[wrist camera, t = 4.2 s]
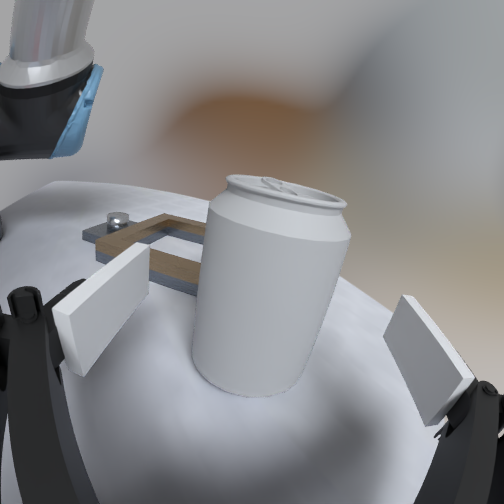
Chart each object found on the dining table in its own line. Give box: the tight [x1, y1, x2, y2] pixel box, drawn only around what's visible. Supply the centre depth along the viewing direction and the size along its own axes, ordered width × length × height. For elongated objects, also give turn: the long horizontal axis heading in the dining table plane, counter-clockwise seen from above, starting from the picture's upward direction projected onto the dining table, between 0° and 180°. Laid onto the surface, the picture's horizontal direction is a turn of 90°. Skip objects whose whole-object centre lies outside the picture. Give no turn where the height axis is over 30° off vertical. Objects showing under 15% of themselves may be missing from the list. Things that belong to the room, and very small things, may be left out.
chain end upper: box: [95, 213, 206, 285], centre depth 31 cm, size 21×15×4 cm
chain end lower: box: [82, 212, 204, 296], centre depth 32 cm, size 21×15×3 cm
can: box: [192, 175, 351, 397], centre depth 16 cm, size 8×8×12 cm
